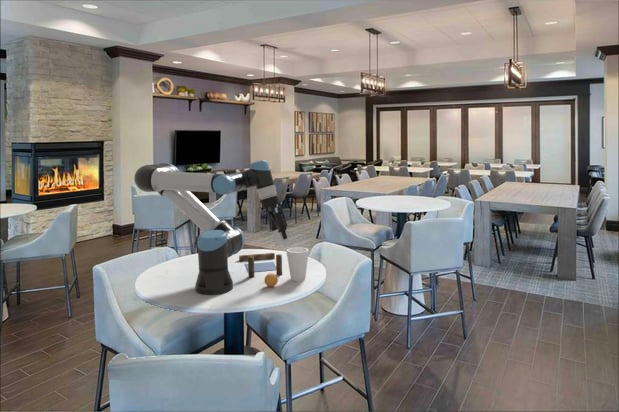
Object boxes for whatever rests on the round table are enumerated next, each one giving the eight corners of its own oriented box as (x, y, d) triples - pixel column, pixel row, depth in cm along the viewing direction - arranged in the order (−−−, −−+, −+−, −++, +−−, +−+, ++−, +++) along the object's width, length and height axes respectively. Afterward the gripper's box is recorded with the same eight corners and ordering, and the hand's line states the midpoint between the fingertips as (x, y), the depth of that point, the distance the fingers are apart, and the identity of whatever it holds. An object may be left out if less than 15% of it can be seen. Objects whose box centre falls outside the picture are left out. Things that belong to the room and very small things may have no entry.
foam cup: (306, 282, 191) (305, 253, 189) (285, 281, 192) (284, 252, 190) (310, 276, 200) (310, 247, 198) (290, 275, 202) (289, 247, 200)
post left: (248, 277, 199) (248, 258, 197) (248, 276, 201) (247, 256, 200) (254, 277, 199) (254, 257, 198) (254, 275, 202) (253, 256, 200)
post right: (277, 275, 202) (276, 255, 200) (276, 273, 204) (275, 254, 203) (282, 274, 202) (282, 255, 201) (281, 273, 205) (281, 254, 203)
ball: (265, 289, 183) (265, 276, 182) (263, 285, 188) (263, 272, 187) (279, 288, 184) (278, 275, 183) (276, 283, 190) (276, 271, 189)
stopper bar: (239, 261, 226) (239, 256, 226) (239, 260, 228) (239, 255, 228) (274, 258, 231) (274, 253, 230) (274, 257, 233) (274, 252, 232)
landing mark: (248, 272, 207) (248, 272, 207) (245, 264, 220) (245, 264, 220) (278, 270, 210) (278, 269, 210) (273, 262, 223) (273, 261, 223)
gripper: (284, 193, 175) (299, 244, 177) (270, 195, 199) (284, 241, 201) (266, 198, 173) (281, 250, 175) (254, 200, 197) (268, 246, 198)
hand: (283, 245), depth 188 cm, fingers open, 13 cm apart
